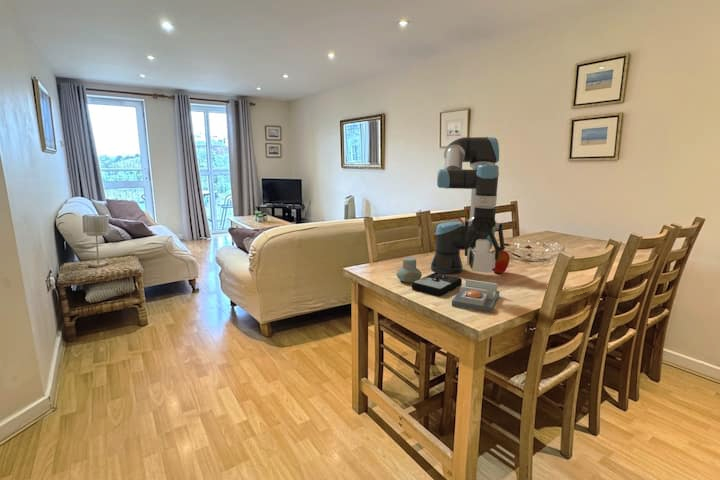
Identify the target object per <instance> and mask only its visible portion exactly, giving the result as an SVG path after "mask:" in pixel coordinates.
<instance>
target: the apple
mask: <svg viewBox="0 0 720 480" xmlns="http://www.w3.org/2000/svg"><path fill="white" fill-rule="evenodd" d="M494 250H495V249H493V250H491V252H492V253H493V251H494ZM510 259H511V257H510V253H508V252H507V250H505V249H504V250H501V251H499V258H498V260H495V268H494V269H493V268H492V272H494V273H495V274H503V273H504V272H506V271H507V268H508V266H509V263H510Z"/></svg>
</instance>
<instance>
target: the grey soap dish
mask: <svg viewBox="0 0 720 480" xmlns="http://www.w3.org/2000/svg"><path fill="white" fill-rule="evenodd" d="M469 290H475V291H479V292H481V299H477V298H471V297H467V291H469ZM499 297H500V290H498V283H495V282H489V281H482V280H475V279H474V280H473V279H467V278H466V279H465V285H461V286H460V289H459V291H458V292H457V293H456V294H455V296H454V297H453V298H452V300H451V306H452V307H455V308H456V307H457V308H462V309H467V310H474V311H477V312H478V311H479V312H484V313H490V314H492V313H493V311H494V309H495V306H496V304H497V301H498V300H499Z"/></svg>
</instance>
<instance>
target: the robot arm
mask: <svg viewBox="0 0 720 480" xmlns="http://www.w3.org/2000/svg"><path fill="white" fill-rule="evenodd" d="M444 149H445V150H444V153H443V157H444V158H443V159H444V167H443V168H442V169H439V170H438V171H437V176H436V177H437V178H436V179H437V180H436V181H437V182H436V183H437V184H436V185H437V188H440V189H447V190H448V189H460V190H461V189H462V190H463V189H467V190H471V193H470V195H471V197H470V214H469V219H467V220H466V221H464V225H463V224H462V221H447V222H446V221H445V222H441V223H439V224H437V226H436V232H435V250H434V251H435V252H434V256H433V258H432V261H431V264H430V270H431V271H433V272H434V273H440V274H445V275H454V274H460V273H462V272H463V268H464V266H463V262H462V258H461V255H460V254H461V250H463V251H464V256H465V257H466V265H467V266H470V258H471V249H474V240H475V239H477V238H486V239H489V240H490V241H491V248H490V250H491V249H492V248H494V249H493V250H494V251H493V250H492V251H493V264H492V268H493V269H494V268H495V260H498V258H499V251H501V250H504V251H505V247H506V246H505V245H506V244H505V239H504V231H503V229H504V223H503V222H497V221H496V210H497V209H496V206H497V200H498V199H497V195H498V193H497V192H498V183H499V176H500V173H499V168H500V167H499V165H498V164H497V163H498V162H499V161H500V146H499V141H498V139H497V138H496V137H493V136H492V137H491V136H490V137H489V136H481V137H473V136H471V137H467V136H465V137H464V136H463V137H459V138H457V139H455V140H453V141H452V142H450V143H449V144H448V145H447V146H446V147H445V148H444ZM463 163H469V167H470V168H471V169H463ZM496 229H498V230H497V231H498V241H499V242H497V238H496V235H495V234H496ZM498 243H499V244H498Z"/></svg>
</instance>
